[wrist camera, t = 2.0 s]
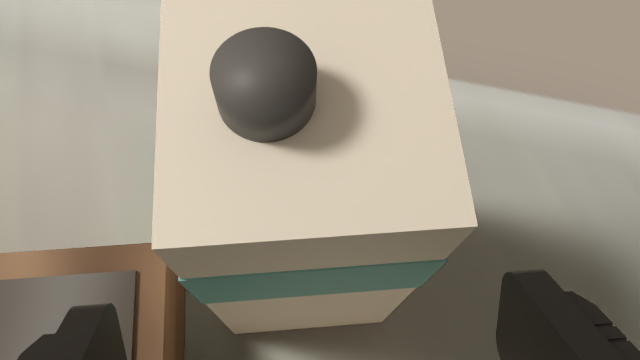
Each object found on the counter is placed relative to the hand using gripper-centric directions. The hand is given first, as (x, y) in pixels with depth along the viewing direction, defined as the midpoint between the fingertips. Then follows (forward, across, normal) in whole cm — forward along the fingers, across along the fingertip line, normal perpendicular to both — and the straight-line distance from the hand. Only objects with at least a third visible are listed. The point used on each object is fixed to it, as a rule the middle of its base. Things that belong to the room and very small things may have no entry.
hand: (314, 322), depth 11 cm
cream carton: (+11, 0, +5) cm, 12 cm away
